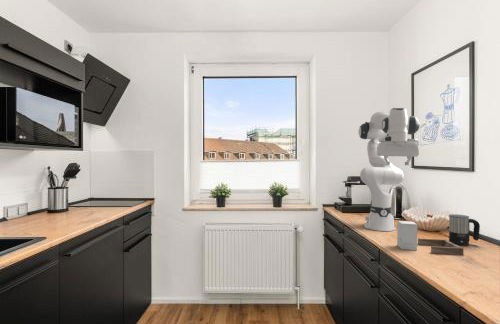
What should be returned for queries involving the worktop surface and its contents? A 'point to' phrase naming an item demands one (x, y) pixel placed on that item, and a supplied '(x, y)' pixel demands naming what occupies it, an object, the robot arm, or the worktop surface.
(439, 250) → the walnut corral
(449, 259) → the worktop surface
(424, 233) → the worktop surface
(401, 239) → the supplement box
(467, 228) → the milk frother
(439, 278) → the worktop surface
